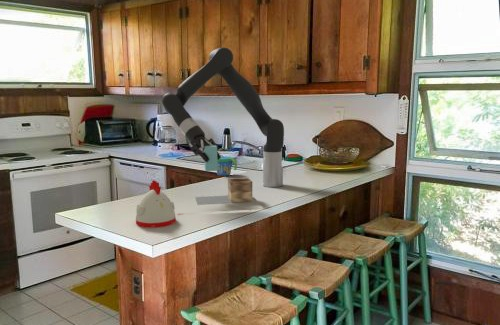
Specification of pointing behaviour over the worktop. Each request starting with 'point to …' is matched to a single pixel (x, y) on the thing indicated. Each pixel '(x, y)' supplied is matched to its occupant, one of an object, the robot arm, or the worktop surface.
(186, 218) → the worktop surface
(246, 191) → the wooden crate
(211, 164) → the teal brick
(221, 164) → the snack cup
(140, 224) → the kitchen timer
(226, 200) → the baseplate
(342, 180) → the worktop surface
